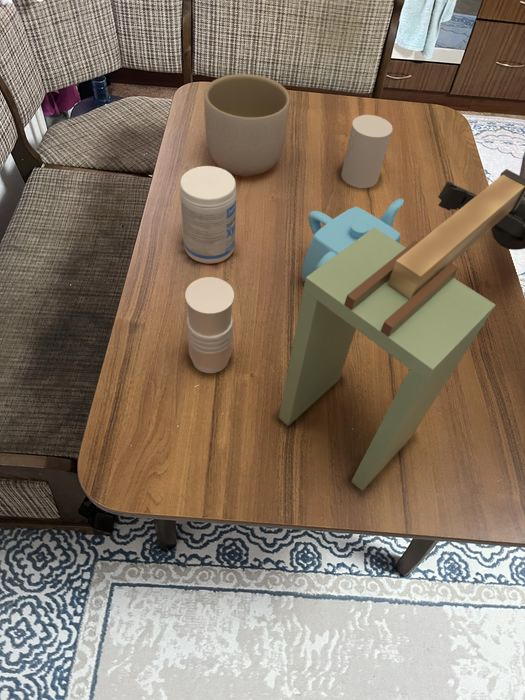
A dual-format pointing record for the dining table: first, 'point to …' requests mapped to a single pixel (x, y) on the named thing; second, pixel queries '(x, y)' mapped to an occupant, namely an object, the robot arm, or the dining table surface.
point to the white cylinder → (366, 150)
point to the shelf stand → (380, 337)
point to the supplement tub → (208, 213)
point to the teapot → (344, 233)
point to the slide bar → (456, 234)
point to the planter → (245, 122)
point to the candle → (209, 323)
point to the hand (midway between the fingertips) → (491, 223)
